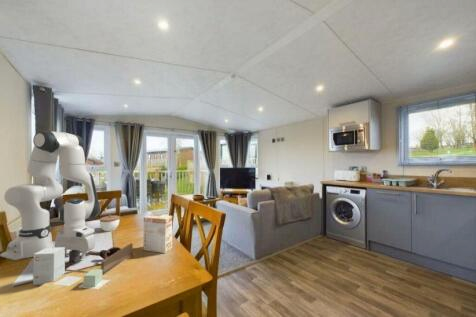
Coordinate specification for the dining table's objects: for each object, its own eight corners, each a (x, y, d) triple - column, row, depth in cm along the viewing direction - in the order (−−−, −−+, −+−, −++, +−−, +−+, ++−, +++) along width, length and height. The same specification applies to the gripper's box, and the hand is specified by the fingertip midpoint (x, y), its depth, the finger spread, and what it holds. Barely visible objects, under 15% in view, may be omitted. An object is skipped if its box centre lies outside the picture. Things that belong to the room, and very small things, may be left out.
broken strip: (52, 287, 81) (52, 284, 81) (66, 278, 87) (66, 275, 87) (97, 292, 79) (97, 289, 79) (109, 282, 84) (109, 280, 84)
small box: (65, 275, 90) (65, 246, 90) (53, 284, 83) (53, 253, 83) (45, 276, 89) (46, 247, 89) (32, 285, 83) (32, 254, 83)
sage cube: (83, 286, 80) (83, 275, 80) (91, 280, 84) (91, 269, 84) (95, 286, 80) (95, 275, 80) (102, 280, 85) (102, 269, 85)
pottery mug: (126, 257, 108) (127, 246, 105) (116, 273, 100) (116, 263, 96) (104, 252, 107) (104, 241, 104) (92, 268, 99) (91, 257, 95)
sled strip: (51, 272, 92) (52, 257, 92) (88, 253, 111) (88, 240, 112) (103, 277, 89) (103, 261, 89) (132, 256, 108) (132, 243, 108)
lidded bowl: (122, 229, 151) (123, 214, 151) (104, 234, 140) (104, 218, 140) (114, 226, 157) (114, 212, 158) (96, 230, 147) (96, 215, 147)
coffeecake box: (172, 248, 118) (172, 215, 118) (165, 253, 111) (165, 218, 112) (151, 245, 122) (151, 213, 122) (142, 250, 115) (143, 216, 116)
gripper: (50, 231, 100) (50, 259, 100) (86, 234, 97) (86, 262, 97) (63, 227, 106) (63, 253, 106) (97, 229, 104) (97, 256, 103)
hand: (74, 257), depth 102 cm, fingers open, 8 cm apart
